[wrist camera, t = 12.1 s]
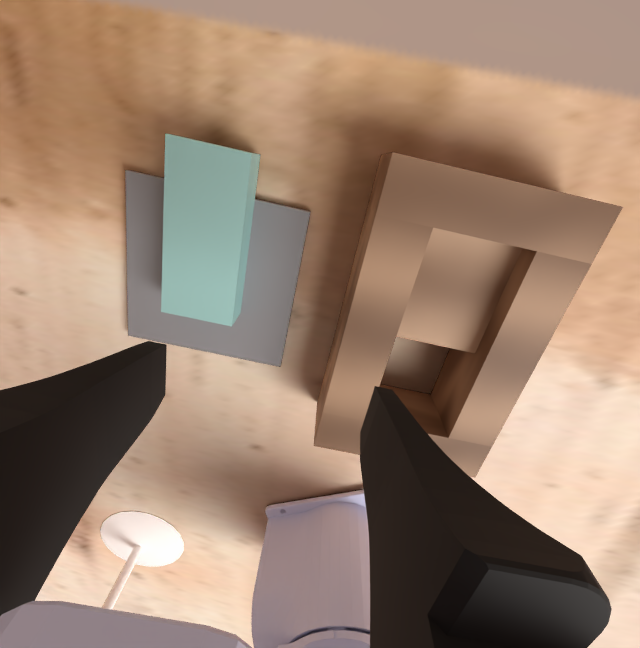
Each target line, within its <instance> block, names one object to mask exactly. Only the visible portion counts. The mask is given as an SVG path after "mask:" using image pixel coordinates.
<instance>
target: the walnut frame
mask: <svg viewBox="0 0 640 648" xmlns="http://www.w3.org/2000/svg"><path fill="white" fill-rule="evenodd" d="M622 208H623V207H621V206H617V205H613V204H608V203H604V202H600V201H596V200H592V199H587V198H583V197H579V196H575V195H571V194H566V193H562V192H558V191H554V190H550V189H545V188H541V187H537V186H533V185H529V184H524V183H520V182H516V181H512V180H508V179H503V178H499V177H495V176H491V175H487V174H483V173H478V172H474V171H470V170H466V169H462V168H457V167H453V166H449V165H445V164H441V163H436V162H432V161H428V160H424V159H420V158H415V157H411V156H407V155H403V154H399V153H394V152H391V153H387V154H383V155H381V157H380V161H379V165H378V169H377V173H376V177H375V180H374V184H373V188H372V192H371V196H370V200H369V204H368V208H367V211H366V215H365V219H364V223H363V227H362V231H361V235H360V239H359V243H358V246H357V250H356V254H355V258H354V262H353V266H352V270H351V274H350V277H349V281H348V285H347V289H346V293H345V297H344V301H343V305H342V309H341V312H340V316H339V320H338V324H337V328H336V332H335V336H334V340H333V343H332V347H331V351H330V355H329V359H328V363H327V367H326V371H325V375H324V378H323V382H322V386H321V390H320V394H319V398H318V402H317V412H316V424H315V436H314V446H318V447H323V448H328V449H333V450H338V451H343V452H348V453H353V454H358V455H360V431H361V428H362V425H363V422H364V419H365V416H366V413H367V409H368V406H369V403H370V400H371V397H372V394H373V391H374V387H375V386H377V387H382V388H387V389H392V390H393V391H394V392H395V393H396V395H397V396H398V397H399V399H400V400H401V401H402V403H403V404H404V405H405V406H406V408H407V409H408V410H409V412H410V413H411V414H412V416H413V417H414V418H415V419H416V421H417V422H418V423H419V424H420V426H421V427H422V428H423V429H424V430H425V432H426V433H427V434H428V435H429V436H430V437H431V439H432V440H433V441H434V442H435V443H436V444H437V445H438V446H439V447H440V448H441V449H442V451H443V452H444V453H445V454H446V455H447V456H448V457H449V458H450V459H451V460H452V461H453V462H454V463H455V464H456V465H457V466H459V467H460V468H461V469H462V470H463V471H464V472H465V473H466V474H467V475H468V476H470V477H476V475H477V473H478V471H479V469H480V468H481V466H482V464H483V462H484V460H485V458H486V457H487V455H488V453H489V451H490V449H491V447H492V446H493V444H494V442H495V440H496V438H497V436H498V435H499V433H500V431H501V429H502V427H503V425H504V424H505V422H506V420H507V418H508V416H509V414H510V413H511V411H512V409H513V407H514V405H515V404H516V402H517V400H518V398H519V396H520V394H521V393H522V391H523V389H524V387H525V385H526V383H527V382H528V380H529V378H530V376H531V374H532V372H533V371H534V369H535V367H536V365H537V363H538V361H539V360H540V358H541V356H542V354H543V352H544V350H545V349H546V347H547V345H548V343H549V341H550V340H551V338H552V336H553V334H554V332H555V330H556V329H557V327H558V325H559V323H560V321H561V319H562V318H563V316H564V314H565V312H566V310H567V308H568V307H569V305H570V303H571V301H572V299H573V297H574V296H575V294H576V292H577V290H578V288H579V287H580V285H581V283H582V281H583V279H584V277H585V276H586V274H587V272H588V270H589V268H590V266H591V265H592V263H593V261H594V259H595V257H596V255H597V254H598V252H599V250H600V248H601V246H602V244H603V243H604V241H605V239H606V237H607V235H608V233H609V232H610V230H611V228H612V226H613V224H614V223H615V221H616V219H617V217H618V215H619V213H620V212H621V210H622ZM396 337H401V338H406V339H410V340H415V341H420V342H424V343H429V344H434V345H438V346H443V347H448V348H450V350H449V352H448V355H447V357H446V360H445V362H444V364H443V367H442V369H441V372H440V374H439V376H438V379H437V381H436V383H435V386H434V388H433V391H432V393H431V395H430V394H425V393H421V392H416V391H411V390H406V389H401V388H396V387H391V386H387V385H382V384H380V383H381V380H382V377H383V374H384V371H385V368H386V365H387V362H388V360H389V357H390V354H391V351H392V348H393V345H394V342H395V339H396Z"/></svg>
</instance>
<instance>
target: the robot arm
mask: <svg viewBox="0 0 640 648" xmlns="http://www.w3.org/2000/svg"><path fill="white" fill-rule="evenodd" d="M165 384H166V345H165V344H160V343H155V342H150V341H148V342H144V343H141V344H138V345H136V346H133V347H130V348H128V349H125V350H123V351H120V352H118V353H115V354H113V355H110V356H107V357H105V358H102V359H100V360H97V361H95V362H92V363H89V364H86V365H84V366H81V367H78V368H75V369H72V370H69V371H66V372H64V373H61V374H58V375H55V376H52V377H48V378H45V379H42V380H38V381H35V382H31V383H27V384H24V385H20V386H16V387H12V388H8V389H4V390H0V648H252V647H251V646H249V645H248V644H247V643H246V642H244V641H243V640H242V639H241V638H239V637H238V636H237V635H235V634H232V633H229V632H226V631H222V630H219V629H216V628H213V627H210V626H206V625H200V624H194V623H188V622H182V621H177V620H171V619H165V618H159V617H153V616H147V615H141V614H135V613H129V612H123V611H117V610H111V609H105V608H99V607H93V606H87V605H81V604H75V603H69V602H63V601H35V599H36V597H37V595H38V593H39V591H40V589H41V588H42V586H43V584H44V582H45V580H46V579H47V577H48V575H49V573H50V571H51V570H52V568H53V566H54V564H55V562H56V561H57V559H58V557H59V555H60V553H61V552H62V550H63V548H64V546H65V545H66V543H67V541H68V540H69V538H70V536H71V535H72V533H73V531H74V529H75V528H76V526H77V524H78V523H79V521H80V519H81V518H82V516H83V514H84V513H85V511H86V509H87V508H88V506H89V505H90V503H91V501H92V500H93V498H94V497H95V495H96V493H97V492H98V490H99V489H100V487H101V486H102V484H103V483H104V481H105V480H106V478H107V477H108V476H109V474H110V473H111V472H112V470H113V469H114V468H115V466H116V465H117V464H118V463H119V461H120V460H121V459H122V457H123V456H124V455H125V453H126V452H127V451H128V449H129V448H130V447H131V446H132V444H133V443H134V442H135V440H136V439H137V438H138V436H139V435H140V434H141V432H142V431H143V430H144V428H145V427H146V426H147V424H148V423H149V422H150V420H151V419H152V417H153V416H154V414H155V412H156V410H157V409H158V407H159V405H160V403H161V401H162V400H163V398H164V396H165ZM360 463H361V471H362V480H363V488H364V490H359V491H353V492H347V493H340V494H334V495H328V496H322V497H316V498H310V499H304V500H298V501H292V502H286V503H280V504H274V505H269V506H267V507H266V510H265V514H266V516H267V518H268V521H267V526H266V531H265V536H264V541H263V547H262V552H261V557H260V562H259V567H258V572H257V577H256V582H255V587H254V593H253V601H252V638H253V644H254V648H587V647H588V646H589V645H590V644H591V643H592V642H593V641H594V640H595V639H596V638H597V637H598V636H599V635H600V634H601V633H602V631H603V630H604V628H605V627H606V626H607V624H608V622H609V618H610V614H611V606H610V602H609V599H608V597H607V596H606V594H605V592H604V591H603V589H602V588H601V586H600V584H599V583H598V581H597V580H596V578H595V577H594V575H593V573H592V572H591V570H590V569H589V567H588V565H587V564H586V562H585V561H584V559H583V558H582V556H581V555H579V554H578V553H576V552H574V551H573V550H571V549H569V548H568V547H566V546H565V545H563V544H561V543H560V542H558V541H557V540H555V539H553V538H552V537H550V536H549V535H547V534H545V533H544V532H542V531H541V530H539V529H537V528H536V527H534V526H533V525H532V524H530V523H529V522H527V521H526V520H524V519H523V518H522V517H520V516H519V515H517V514H516V513H514V512H513V511H512V510H510V509H509V508H508V507H506V506H505V505H504V504H502V503H501V502H500V501H498V500H497V499H496V498H494V497H493V496H492V495H491V494H490V493H488V492H487V491H486V490H485V489H483V488H482V487H481V486H480V485H479V484H477V483H476V482H475V481H474V480H473V479H472V478H470V477H469V476H468V475H467V474H466V473H465V472H464V471H463V470H462V469H461V468H460V467H459V466H457V465H456V464H455V463H454V462H453V461H452V460H451V459H450V458H449V457H448V456H447V455H446V454H445V453H444V452H443V451H442V449H441V448H440V447H439V446H438V445H437V444H436V443H435V442H434V441H433V440H432V439H431V437H430V436H429V435H428V434H427V433H426V432H425V430H424V429H423V428H422V427H421V426H420V424H419V423H418V422H417V421H416V419H415V418H414V417H413V416H412V414H411V413H410V412H409V410H408V409H407V408H406V406H405V405H404V404H403V403H402V401H401V400H400V399H399V397H398V396H397V395H396V393H395V392H394V391H393V390H392V389H387V388H382V387H377V386H375V387H374V391H373V394H372V397H371V400H370V403H369V406H368V409H367V413H366V416H365V419H364V422H363V425H362V428H361V431H360Z"/></svg>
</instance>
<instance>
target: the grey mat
mask: <svg viewBox="0 0 640 648" xmlns="http://www.w3.org/2000/svg"><path fill="white" fill-rule="evenodd" d="M125 177H126V238H127V299H128V336H133V337H138V338H143V339H148V340H152V341H157V342H162V343H167V344H172V345H177V346H182V347H186V348H191V349H196V350H201V351H206V352H211V353H216V354H220V355H225V356H230V357H235V358H240V359H245V360H249V361H254V362H259V363H264V364H269V365H274V366H279V367H280V366H281V362H282V357H283V352H284V346H285V341H286V336H287V331H288V326H289V321H290V316H291V310H292V305H293V300H294V295H295V290H296V285H297V279H298V274H299V269H300V264H301V259H302V254H303V249H304V243H305V238H306V233H307V228H308V223H309V218H310V212H311V211H307V210H303V209H298V208H294V207H289V206H285V205H281V204H276V203H272V202H268V201H263V200H259V199H255V202H254V210H253V218H252V226H251V234H250V242H249V250H248V258H247V266H246V274H245V282H244V290H243V298H242V305H241V313H240V315H239V316H238V318H237V319H236V321H235V322H234V324H233V325H232V326H227V325H222V324H217V323H213V322H208V321H203V320H198V319H193V318H189V317H184V316H179V315H174V314H169V313H164V312H161V294H162V252H163V210H164V178H162V177H158V176H153V175H149V174H145V173H140V172H136V171H131V170H125Z"/></svg>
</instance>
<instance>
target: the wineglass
mask: <svg viewBox="0 0 640 648" xmlns="http://www.w3.org/2000/svg"><path fill="white" fill-rule="evenodd" d="M100 531H101V538H102V540H103V542H104V543H105V545H106V547H107V548H108V549H110V550H111V551H112V552H113V553H114V554H115V555H117V556H118V557H120V558H122V559H124V560H125V561H126V563H125V565H124V567H123V569H122V570H121V572H120V574H119V576H118V578H117V580H116V582H115V584H114V585H113V587H112V589H111V591H110V593H109V595H108V597H107V599H106V600H105V602H104V604H103V606H102V608H105V609H111V610H112V608H113V606H114V604H115V602H116V600H117V599H118V597H119V595H120V593H121V591H122V589H123V587H124V585H125V583H126V581H127V579H128V577H129V575H130V573H131V571H132V569H133V567H134V565H135V564H137V565H142V566H149V567H153V566H164V565H167V564H171V563H173V562H174V561H176V560H177V559H178V558H180V556H181V554H182V552H183V549H184V542H183V540H182V538H181V536H180V534H179V532H178V531H177V530H176V529H175V528H174V527H173V526H172V525H170V524H169V523H167V522H166V521H164V520H163V519H161V518H159V517H156V516H153V515H150V514H148V513H142V512H135V511H130V512H120V513H117V514H114V515H111V516H110V517H108V518H107V519H106V520H105V521H104V522H103V524H102V527H101V529H100Z"/></svg>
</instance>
